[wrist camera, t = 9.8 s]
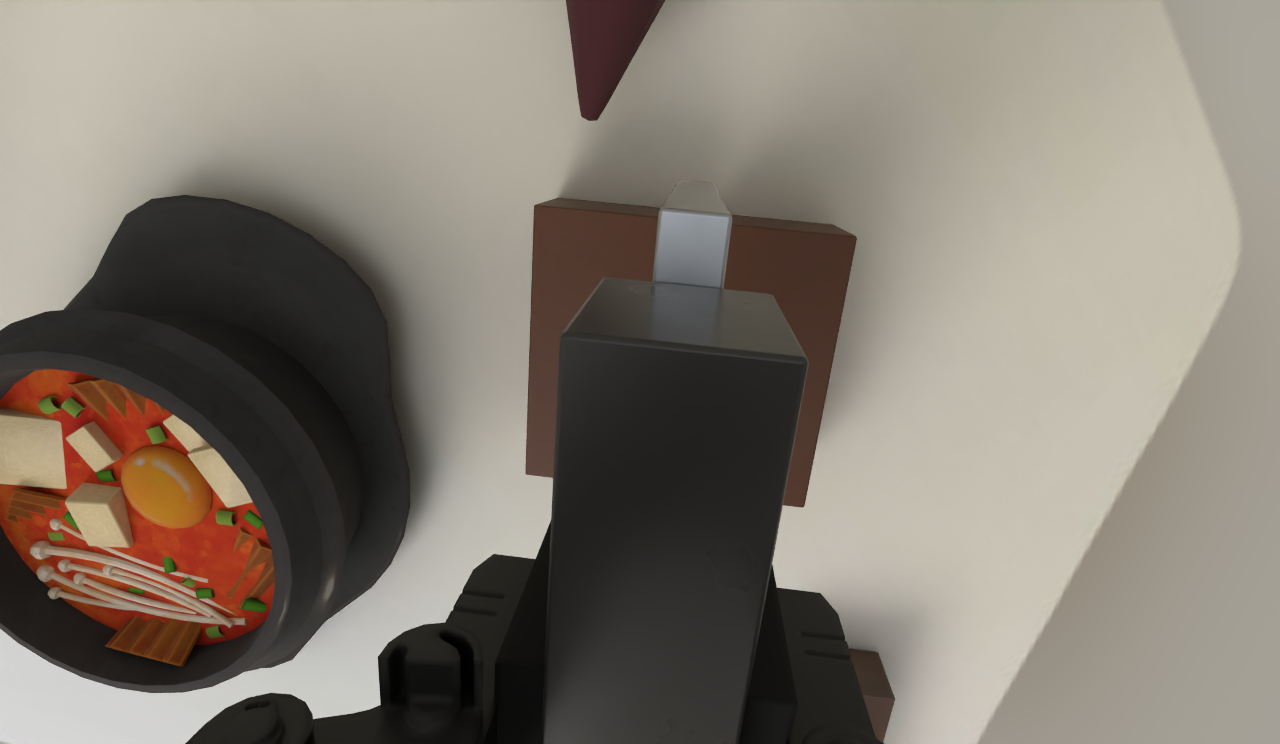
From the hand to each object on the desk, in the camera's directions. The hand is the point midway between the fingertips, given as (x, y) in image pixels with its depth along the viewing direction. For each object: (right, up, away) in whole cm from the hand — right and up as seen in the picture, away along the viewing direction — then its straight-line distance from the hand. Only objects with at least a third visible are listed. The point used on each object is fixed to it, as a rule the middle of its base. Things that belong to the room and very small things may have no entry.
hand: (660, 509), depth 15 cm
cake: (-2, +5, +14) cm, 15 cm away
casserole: (-20, 0, +18) cm, 27 cm away
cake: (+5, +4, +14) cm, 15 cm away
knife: (+1, +2, +6) cm, 6 cm away
